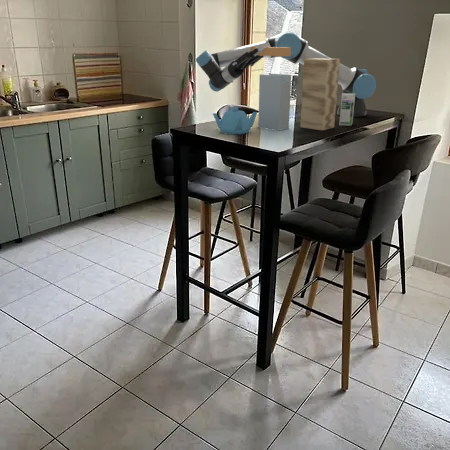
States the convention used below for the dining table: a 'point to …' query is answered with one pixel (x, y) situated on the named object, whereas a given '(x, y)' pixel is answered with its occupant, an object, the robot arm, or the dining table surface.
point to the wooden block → (319, 93)
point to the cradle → (274, 101)
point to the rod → (275, 51)
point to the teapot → (235, 121)
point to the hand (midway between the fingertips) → (266, 45)
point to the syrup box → (347, 109)
